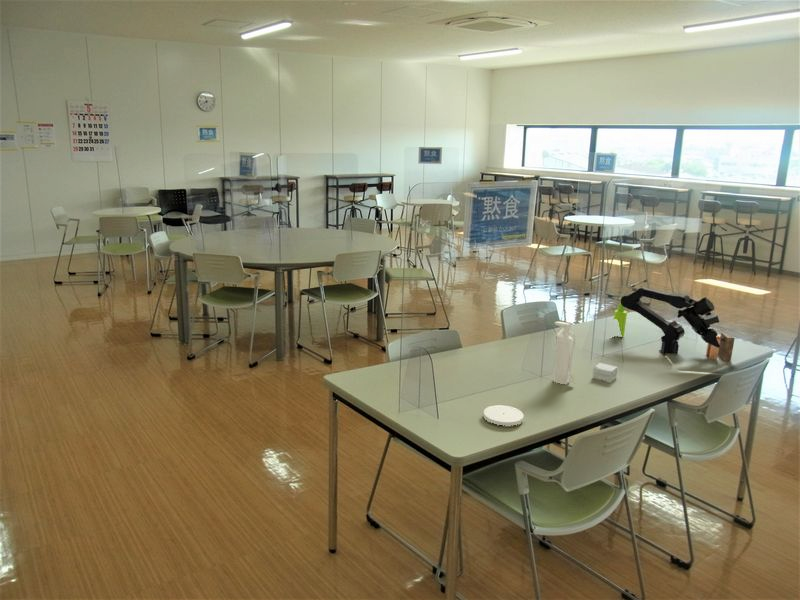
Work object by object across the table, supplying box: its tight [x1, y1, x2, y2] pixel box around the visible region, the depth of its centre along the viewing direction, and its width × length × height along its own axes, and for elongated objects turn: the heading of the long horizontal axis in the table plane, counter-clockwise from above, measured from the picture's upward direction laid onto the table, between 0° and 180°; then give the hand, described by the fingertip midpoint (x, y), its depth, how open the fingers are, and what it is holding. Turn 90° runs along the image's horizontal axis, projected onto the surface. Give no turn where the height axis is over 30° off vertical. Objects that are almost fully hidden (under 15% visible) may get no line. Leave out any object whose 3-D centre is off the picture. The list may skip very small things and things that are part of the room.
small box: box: [592, 362, 618, 383], centre depth 261 cm, size 8×8×5 cm
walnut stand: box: [718, 332, 736, 362], centre depth 286 cm, size 9×8×12 cm
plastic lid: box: [482, 404, 525, 427], centre depth 220 cm, size 14×14×2 cm
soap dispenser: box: [613, 297, 628, 338], centre depth 315 cm, size 6×7×20 cm
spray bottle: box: [553, 321, 576, 385], centre depth 252 cm, size 7×12×25 cm, turn 29°
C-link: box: [705, 334, 721, 361], centre depth 286 cm, size 3×6×11 cm, turn 172°
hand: (715, 343), depth 285 cm, fingers open, 9 cm apart
